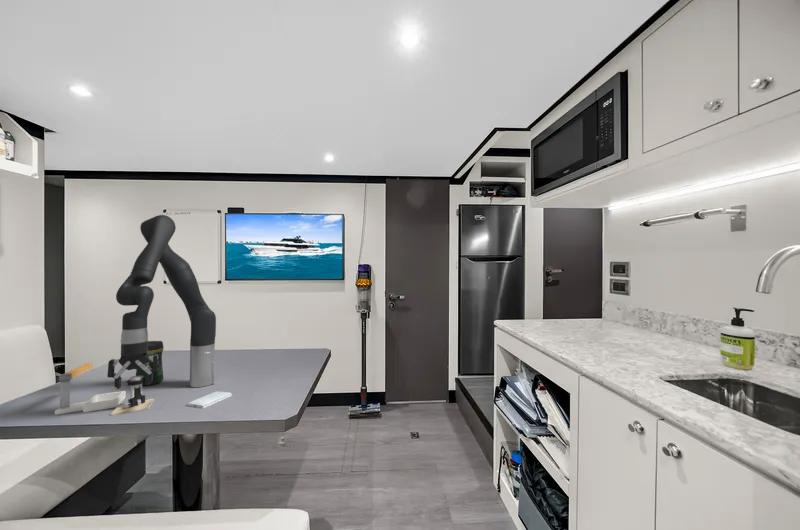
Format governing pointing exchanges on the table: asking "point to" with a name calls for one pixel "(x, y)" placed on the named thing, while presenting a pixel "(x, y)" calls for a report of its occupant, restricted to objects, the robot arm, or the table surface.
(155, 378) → the coffee jar
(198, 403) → the hard drive
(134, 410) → the wood pad
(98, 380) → the table surface
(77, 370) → the bar
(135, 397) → the push button
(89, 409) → the socket housing
